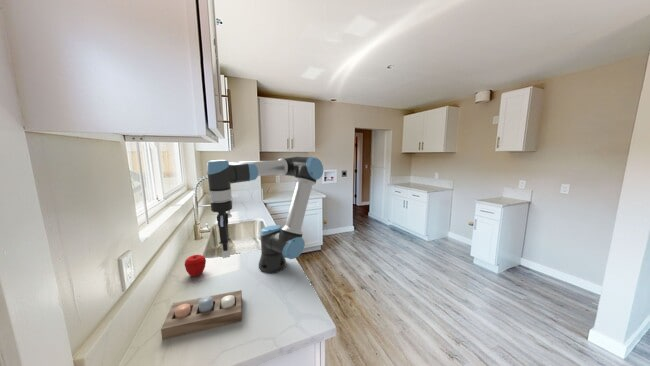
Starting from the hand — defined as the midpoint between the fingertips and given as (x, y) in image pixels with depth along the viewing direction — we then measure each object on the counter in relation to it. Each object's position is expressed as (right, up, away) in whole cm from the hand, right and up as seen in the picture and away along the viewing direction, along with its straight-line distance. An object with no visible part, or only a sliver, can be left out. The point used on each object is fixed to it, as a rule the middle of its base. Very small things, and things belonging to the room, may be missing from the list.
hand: (226, 256), depth 91 cm
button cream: (+1, -22, +1) cm, 22 cm away
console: (-7, -23, -2) cm, 24 cm away
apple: (-28, -19, +28) cm, 44 cm away
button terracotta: (-15, -23, -4) cm, 27 cm away
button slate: (-7, -21, -2) cm, 22 cm away
